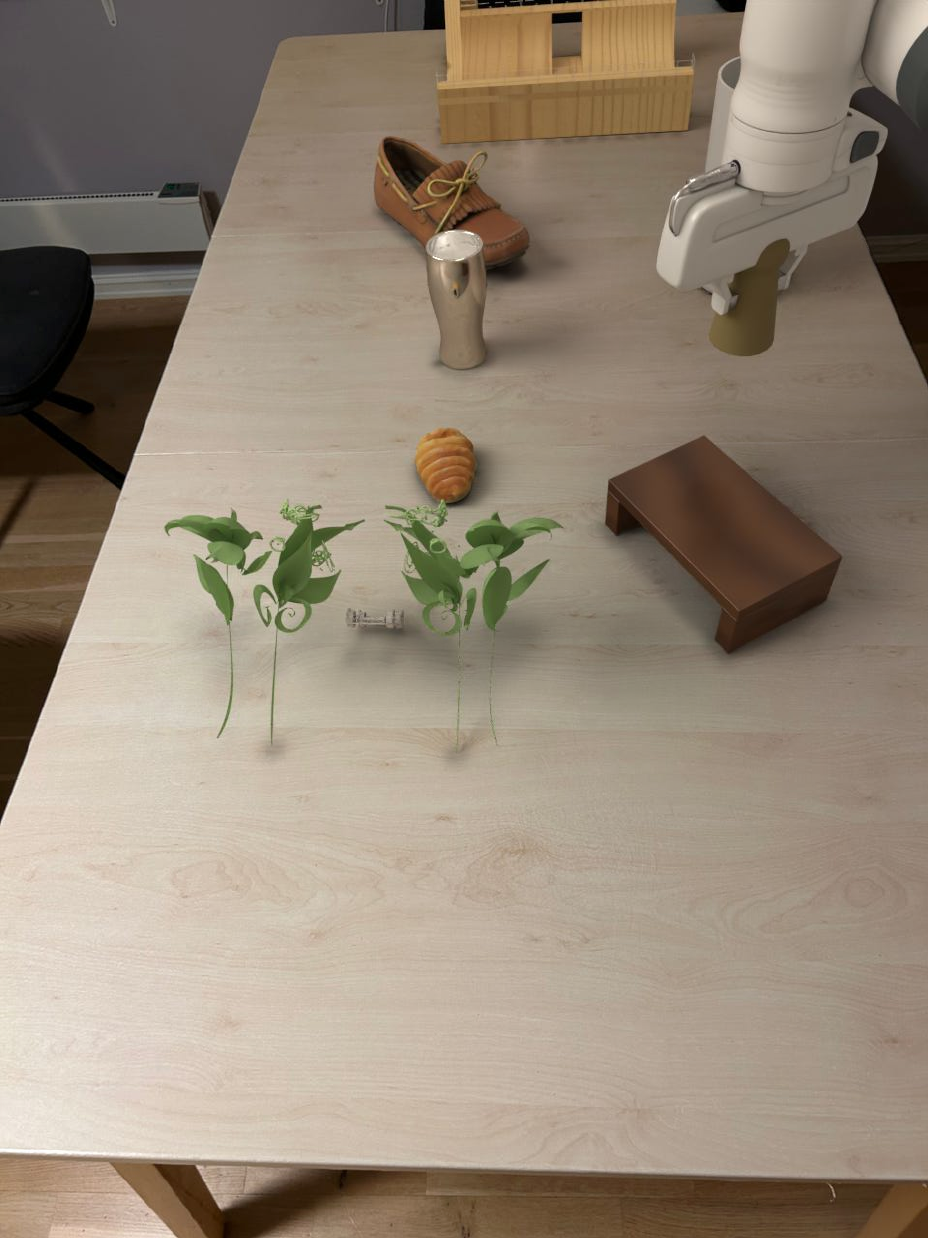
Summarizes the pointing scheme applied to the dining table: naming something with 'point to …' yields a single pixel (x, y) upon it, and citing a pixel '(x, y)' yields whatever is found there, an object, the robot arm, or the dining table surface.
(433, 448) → the pastry
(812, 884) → the dining table surface
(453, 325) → the beer glass
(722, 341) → the olive yellow pawn
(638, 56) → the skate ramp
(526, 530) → the plant cuttings
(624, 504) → the shelf
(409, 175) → the moccasin
